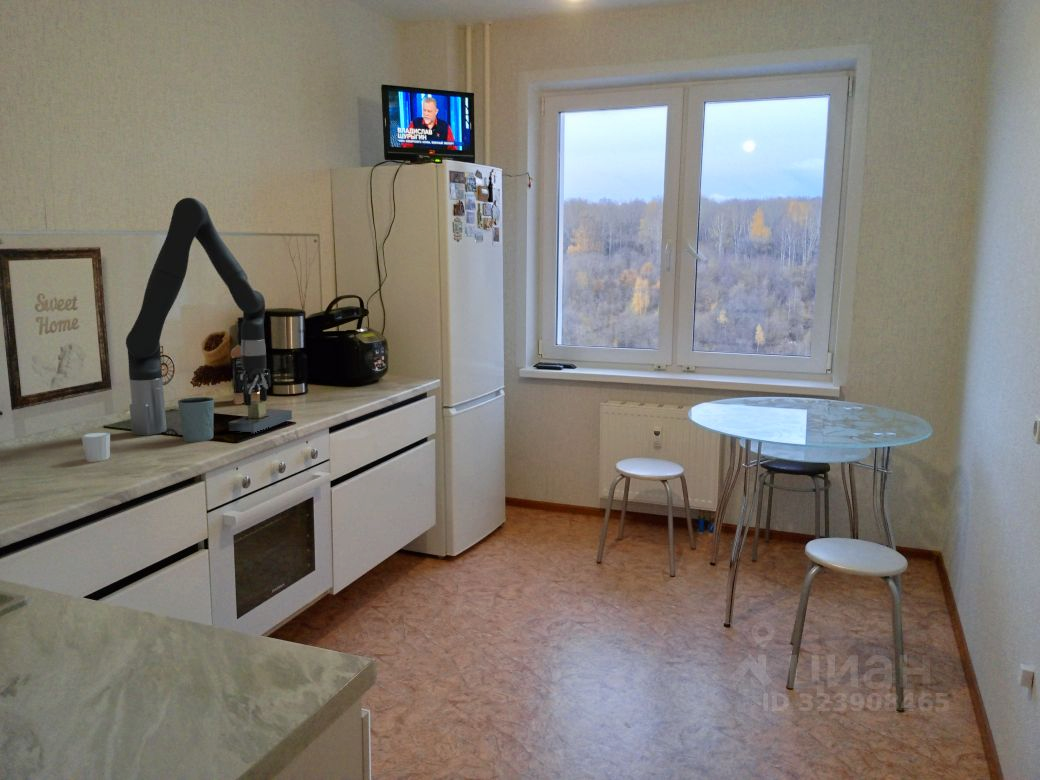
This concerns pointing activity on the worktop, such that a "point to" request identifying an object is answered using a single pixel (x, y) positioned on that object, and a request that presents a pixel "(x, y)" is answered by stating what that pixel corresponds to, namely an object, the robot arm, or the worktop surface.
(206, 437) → the blue-green cup
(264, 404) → the pale green tall block
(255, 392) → the whiskey bottle
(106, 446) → the white short cylinder
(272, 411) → the rail plate
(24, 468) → the worktop surface
